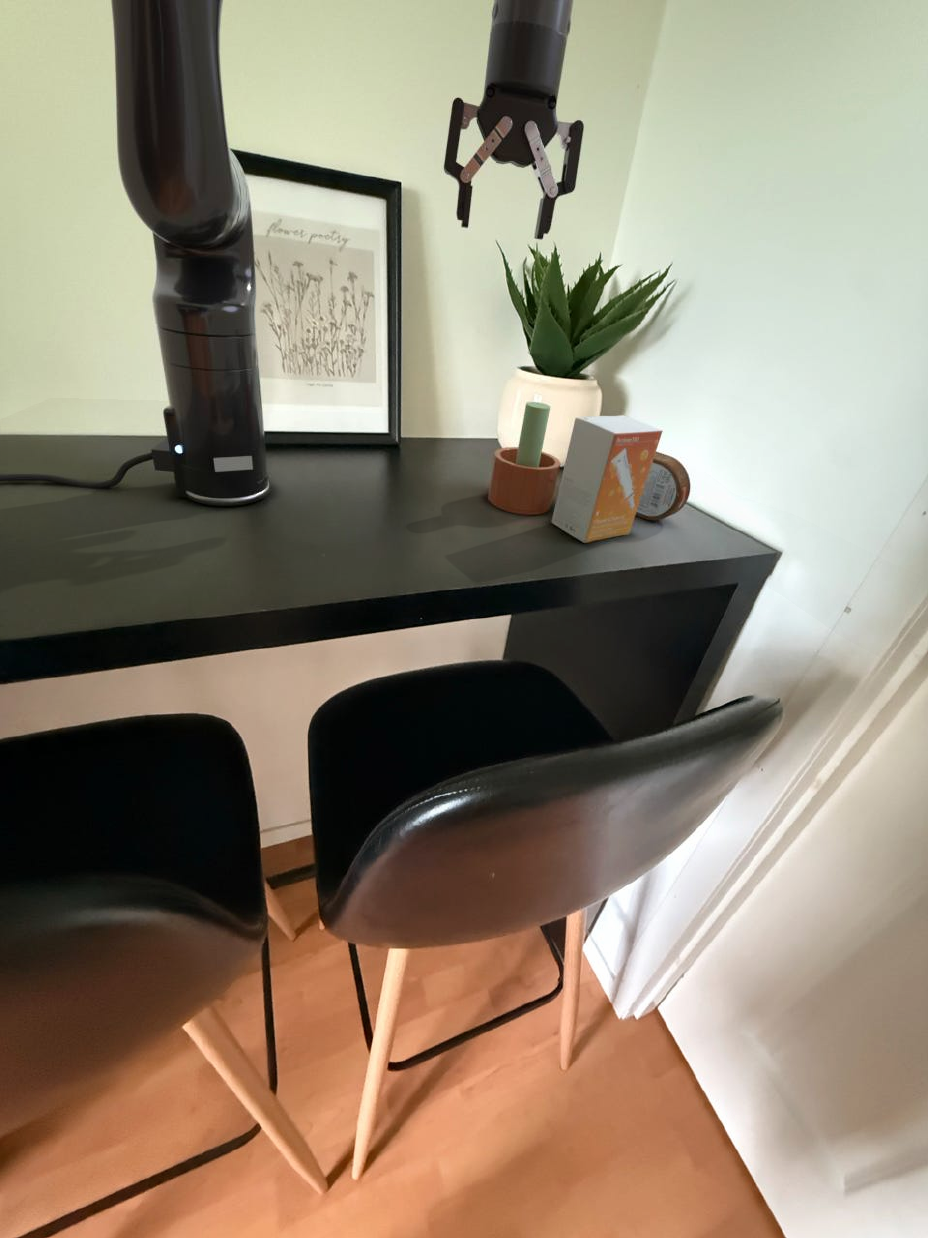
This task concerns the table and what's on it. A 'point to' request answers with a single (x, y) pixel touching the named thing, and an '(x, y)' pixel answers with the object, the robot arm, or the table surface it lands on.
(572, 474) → the small box
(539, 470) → the holder
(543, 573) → the table surface
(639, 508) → the tin
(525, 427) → the candle
